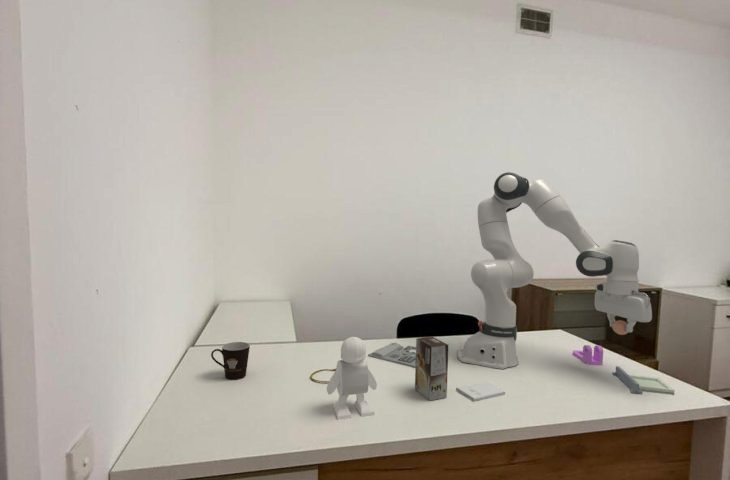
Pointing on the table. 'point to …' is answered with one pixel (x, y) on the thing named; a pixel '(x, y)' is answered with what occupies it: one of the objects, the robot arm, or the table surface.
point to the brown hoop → (318, 380)
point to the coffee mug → (234, 359)
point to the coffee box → (431, 368)
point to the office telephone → (396, 354)
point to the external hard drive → (480, 391)
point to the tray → (652, 384)
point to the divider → (627, 380)
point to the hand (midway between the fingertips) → (620, 329)
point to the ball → (619, 327)
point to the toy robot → (352, 378)
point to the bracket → (590, 355)
